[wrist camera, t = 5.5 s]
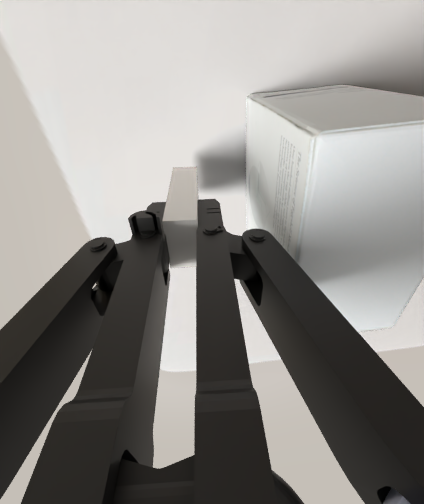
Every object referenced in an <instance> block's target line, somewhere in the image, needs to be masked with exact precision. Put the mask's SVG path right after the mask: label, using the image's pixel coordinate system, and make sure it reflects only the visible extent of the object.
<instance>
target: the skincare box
mask: <svg viewBox="0 0 424 504" xmlns="http://www.w3.org/2000/svg"><path fill="white" fill-rule="evenodd" d="M246 225H247V230H249V229H256V228H257V229H263V230H266V231H268V232H270V233H271V234H272V235H273V236H274V237H275V239H276V240H277V241H278V242H279V243H280V244H281V245H282V246H283V248H284V249H285V250H286V251H287V252H288V253H289V254H290V256H291V257H292V258H293V259H294V260H295V261H296V262H297V264H298V265H299V266H300V267H301V268H302V269H303V270H304V272H305V273H306V274H307V275H308V276H309V277H310V278H311V279H312V281H313V282H314V283H315V284H316V285H317V286H318V287H319V289H320V290H321V291H322V292H323V293H324V294H325V295H326V297H327V298H328V299H329V300H330V301H331V302H332V303H333V305H334V306H335V307H336V308H337V309H338V310H339V311H340V313H341V314H342V315H343V316H344V317H345V318H346V319H347V320H348V322H349V323H350V324H351V325H352V326H353V327H354V328H355V330H356V331H357V332H366V331H373V330H379V329H387V328H392V327H393V326H394V325H395V324H396V322H397V320H398V319H399V317H400V315H401V314H402V312H403V310H404V309H405V307H406V305H407V304H408V302H409V300H410V299H411V297H412V295H413V294H414V292H415V290H416V289H417V287H418V286H419V284H420V282H421V281H422V279H423V277H424V97H423V96H417V95H410V94H403V93H397V92H390V91H384V90H377V89H371V88H364V87H357V86H350V85H344V84H343V85H332V86H324V87H317V88H308V89H298V90H288V91H279V92H268V93H254V94H250V95H249V96H248V97H247V98H246ZM247 230H246V231H247Z"/></svg>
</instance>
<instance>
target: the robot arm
mask: <svg viewBox="0 0 424 504" xmlns="http://www.w3.org/2000/svg"><path fill="white" fill-rule="evenodd" d="M128 220H129V223H130V227H131V230H132V234H133V235H132V238H131V240H129V241H126V242H123V243H119V244H115V243H114V240H112V239H111V238H107V237H100V238H95V239H93V240H91V241H89V242H88V243H86V244H85V245H84V246H83V247H82V248H81V249H80V250H79V251H78V252H77V253H76V254H75V255H74V256H73V257H72V258H71V259H70V260H69V261H68V262H67V263H66V264H65V265H64V266H63V267H62V268H61V269H60V270H59V271H58V272H57V273H56V274H55V275H54V276H53V277H52V278H51V279H50V280H49V281H48V282H47V283H46V284H45V285H44V286H43V287H42V288H41V289H40V290H39V291H38V292H37V293H36V294H35V295H34V296H33V297H32V298H31V300H29V301H28V302H27V303H26V304H25V306H24V307H23V308H22V309H21V310H20V311H19V312H18V313H17V314H16V315H15V316H14V317H13V318H12V319H11V320H10V321H9V322H8V323H7V324H6V325H5V326H4V327H3V328H2V329H1V330H0V499H1V497H2V496H3V494H4V493H5V491H6V490H7V488H8V487H9V485H10V484H11V482H12V480H13V479H14V477H15V475H16V474H17V472H18V470H19V469H20V467H21V466H22V464H23V462H24V460H25V459H26V457H27V456H28V454H29V452H30V451H31V449H32V447H33V446H34V444H35V442H36V441H37V439H38V438H39V436H40V434H41V433H42V431H43V429H44V427H45V426H46V424H47V423H48V421H49V419H50V418H51V416H52V414H53V413H54V411H55V410H56V408H57V406H58V405H59V403H60V401H61V400H62V398H63V396H64V394H65V393H66V391H67V390H68V388H69V386H70V385H71V383H72V382H73V380H74V378H75V377H76V375H77V373H78V372H79V370H80V368H81V367H82V365H83V363H84V362H85V360H86V358H87V357H88V355H89V353H90V352H91V350H92V352H91V355H90V358H89V361H88V364H87V367H86V369H85V372H84V375H83V378H82V381H81V384H80V386H79V389H78V392H77V394H76V396H75V398H74V399H73V400H72V401H70V402H68V403H66V404H64V405H63V406H62V408H61V409H60V410H59V411H58V413H57V415H56V417H55V419H54V421H53V423H52V425H51V428H50V430H49V433H48V435H47V438H46V440H45V443H44V446H43V448H42V451H41V453H40V456H39V458H38V461H37V464H36V466H35V469H34V471H33V474H32V476H31V479H30V482H29V484H28V487H27V489H26V492H25V494H24V497H23V499H22V502H21V504H304V503H303V502H302V500H301V499H300V498H299V496H298V495H297V494H296V493H295V491H293V489H292V488H291V487H290V486H289V485H288V484H287V483H286V482H285V481H284V480H283V479H282V478H281V477H280V476H278V475H277V474H276V473H275V472H274V471H272V470H271V464H270V459H269V453H268V448H267V442H266V437H265V432H264V427H263V421H262V415H261V409H260V405H259V400H258V396H257V393H256V391H255V389H254V388H253V385H252V381H251V375H250V370H249V363H248V358H247V352H246V346H245V340H244V334H243V328H242V323H241V317H240V311H239V305H238V299H237V293H236V287H235V282H234V279H239V280H240V284H241V285H242V287H243V289H244V291H245V293H246V295H247V296H248V298H249V300H250V302H251V304H252V306H253V307H254V309H255V311H256V313H257V315H258V317H259V318H260V320H261V322H262V324H263V326H264V328H265V329H266V331H267V333H268V335H269V337H270V339H271V340H272V342H273V344H274V346H275V348H276V350H277V351H278V353H279V355H280V357H281V359H282V360H283V362H284V364H285V366H286V368H287V369H288V372H289V373H290V375H291V377H292V379H293V381H294V382H295V385H296V386H297V388H298V390H299V392H300V394H301V396H302V397H303V399H304V401H305V403H306V405H307V406H308V408H309V410H310V412H311V414H312V416H313V417H314V419H315V421H316V423H317V425H318V427H319V429H320V430H321V432H322V434H323V436H324V438H325V440H326V441H327V443H328V445H329V447H330V449H331V451H332V452H333V454H334V456H335V458H336V460H337V461H338V463H339V465H340V466H341V468H342V470H343V471H344V473H345V475H346V476H347V478H348V480H349V481H350V483H351V484H352V486H353V487H354V488H355V490H356V491H357V493H358V494H359V496H360V497H361V498H362V500H363V501H364V503H365V504H424V407H423V406H422V405H421V404H420V403H419V401H418V400H417V399H416V398H415V397H414V396H413V394H412V393H411V392H410V391H409V390H408V389H407V388H406V387H405V385H404V384H403V383H402V382H401V381H400V380H399V379H398V377H397V376H396V375H395V374H394V373H393V372H392V371H391V369H390V368H388V366H387V365H386V364H385V363H384V361H383V360H382V359H381V358H380V357H379V356H378V355H377V353H376V352H375V351H374V350H373V349H372V348H371V347H370V346H369V344H368V343H367V342H366V341H365V340H364V339H363V338H362V336H361V335H360V334H359V333H358V332H357V331H356V330H355V328H354V327H353V326H352V325H351V324H350V323H349V322H348V320H347V319H346V318H345V317H344V316H343V315H342V314H341V313H340V311H339V310H338V309H337V308H336V307H335V306H334V305H333V303H332V302H331V301H330V300H329V299H328V298H327V297H326V295H325V294H324V293H323V292H322V291H321V290H320V289H319V287H318V286H317V285H316V284H315V283H314V282H313V281H312V279H311V278H310V277H309V276H308V275H307V274H306V273H305V272H304V270H303V269H302V268H301V267H300V266H299V265H298V264H297V262H296V261H295V260H294V259H293V258H292V257H291V256H290V254H289V253H288V252H287V251H286V250H285V249H284V248H283V246H282V245H281V244H280V243H279V242H278V241H277V240H276V239H275V237H274V236H273V235H272V234H271V233H270V232H268V231H266V230H263V229H257V228H256V229H249V230H247V231H245V232H244V233H243V235H242V236H237V235H233V234H230V233H228V232H227V231H226V229H225V228H224V226H223V221H222V215H221V209H220V203H219V202H218V201H217V200H216V199H204V200H199V196H198V181H197V167H178V168H173V171H172V176H171V181H170V186H169V191H168V196H167V201H166V202H157V203H152V204H151V205H149V206H148V207H147V210H145V211H139V212H136V213H134V214H132V215H131V216H130V217H129V218H128ZM169 262H170V267H171V268H185V267H196V362H197V383H196V385H197V386H196V395H195V455H193V456H191V457H189V458H186V459H184V460H181V461H179V462H176V463H174V464H172V465H169V466H167V467H164V468H161V469H156V468H153V456H154V445H153V423H154V414H155V405H156V395H157V387H158V378H159V370H160V361H161V352H162V343H163V334H164V325H165V316H166V307H167V298H168V289H169V281H170V272H169ZM95 283H96V284H97V285H96V286H95V287H94V288H93V289H92V287H93V286H94V284H95Z"/></svg>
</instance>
